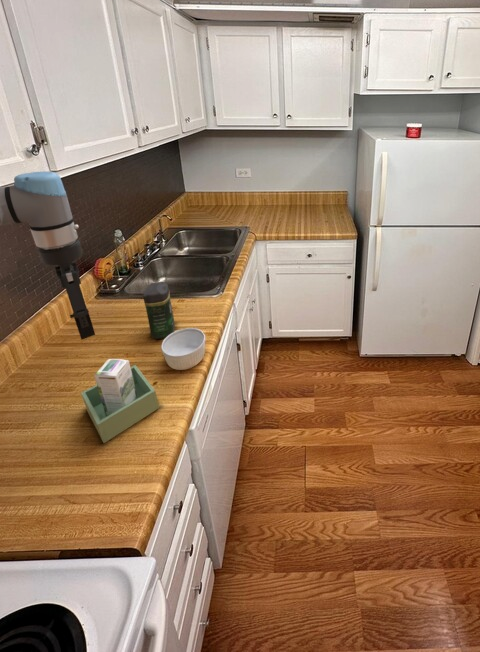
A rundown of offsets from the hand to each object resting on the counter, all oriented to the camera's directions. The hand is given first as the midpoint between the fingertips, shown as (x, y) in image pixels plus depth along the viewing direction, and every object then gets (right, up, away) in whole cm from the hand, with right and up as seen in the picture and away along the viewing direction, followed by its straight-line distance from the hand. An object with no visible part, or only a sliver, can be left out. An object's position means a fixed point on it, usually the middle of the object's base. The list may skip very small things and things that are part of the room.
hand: (83, 322), depth 81 cm
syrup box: (+5, -26, +9) cm, 28 cm away
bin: (+5, -26, +9) cm, 28 cm away
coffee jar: (+2, -14, +39) cm, 42 cm away
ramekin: (+15, -19, +27) cm, 36 cm away
